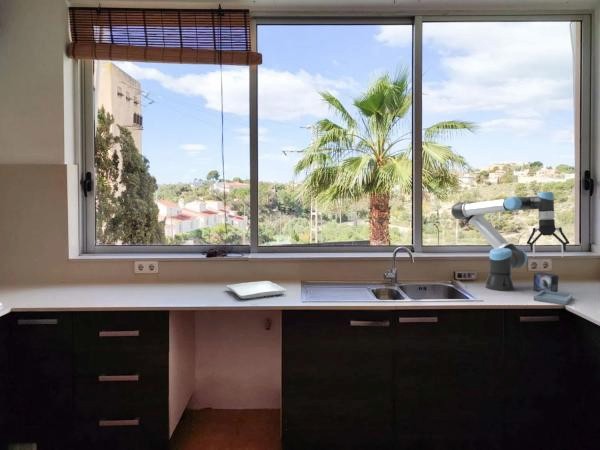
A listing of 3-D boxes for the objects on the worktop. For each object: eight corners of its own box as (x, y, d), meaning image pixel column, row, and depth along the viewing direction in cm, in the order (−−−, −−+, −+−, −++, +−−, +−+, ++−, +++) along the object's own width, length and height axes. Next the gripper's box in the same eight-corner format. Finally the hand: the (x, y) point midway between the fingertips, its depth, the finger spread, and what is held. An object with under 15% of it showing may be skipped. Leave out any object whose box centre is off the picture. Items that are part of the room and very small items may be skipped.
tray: (533, 300, 198) (533, 295, 198) (542, 294, 211) (542, 290, 211) (566, 305, 189) (566, 300, 188) (572, 298, 201) (572, 294, 201)
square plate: (225, 291, 223) (225, 284, 223) (268, 286, 236) (268, 280, 235) (240, 301, 199) (240, 294, 199) (287, 295, 212) (287, 288, 211)
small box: (532, 290, 220) (533, 272, 219) (539, 289, 222) (540, 271, 222) (550, 294, 210) (551, 276, 209) (558, 293, 213) (559, 275, 212)
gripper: (520, 220, 219) (522, 256, 219) (573, 218, 205) (575, 257, 205) (521, 219, 225) (523, 255, 225) (573, 218, 211) (574, 256, 211)
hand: (548, 256), depth 215 cm, fingers open, 13 cm apart
